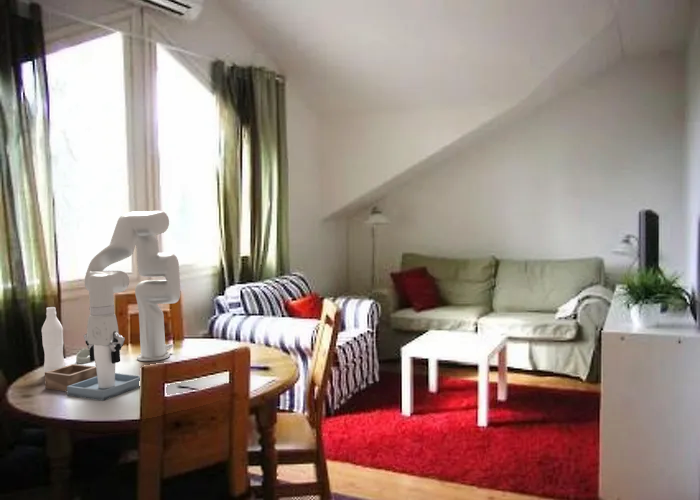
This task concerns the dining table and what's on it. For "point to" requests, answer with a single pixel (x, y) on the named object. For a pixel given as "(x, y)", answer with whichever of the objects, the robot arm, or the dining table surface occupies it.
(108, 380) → the drinking glass
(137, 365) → the dining table surface
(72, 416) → the dining table surface
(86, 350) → the wristwatch
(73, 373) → the frame
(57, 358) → the water bottle
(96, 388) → the tray
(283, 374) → the dining table surface
